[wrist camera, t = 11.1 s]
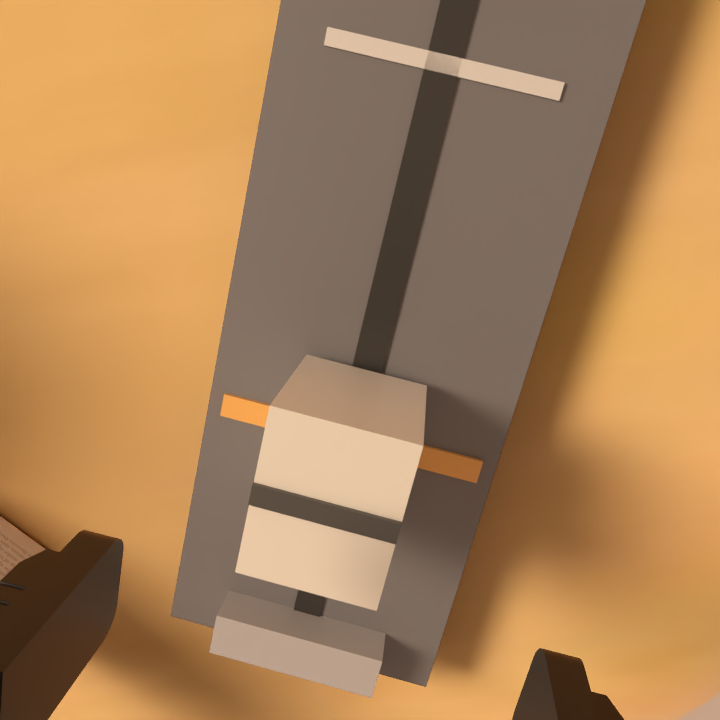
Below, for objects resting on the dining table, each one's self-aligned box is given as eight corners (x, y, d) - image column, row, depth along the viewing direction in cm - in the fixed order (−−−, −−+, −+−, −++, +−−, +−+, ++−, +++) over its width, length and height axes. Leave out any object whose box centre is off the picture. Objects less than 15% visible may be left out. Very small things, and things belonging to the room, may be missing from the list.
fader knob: (306, 354, 22) (268, 407, 17) (426, 385, 22) (423, 448, 17) (276, 489, 23) (233, 575, 18) (389, 520, 23) (375, 614, 18)
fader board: (323, -141, 20) (301, -202, 17) (652, -67, 20) (696, -115, 17) (189, 585, 28) (154, 642, 24) (426, 650, 27) (425, 717, 24)
